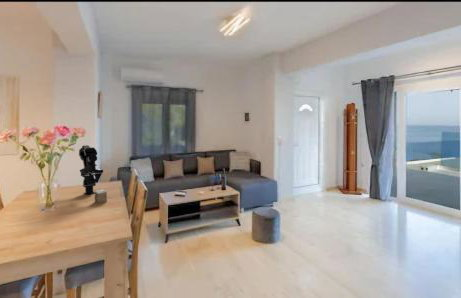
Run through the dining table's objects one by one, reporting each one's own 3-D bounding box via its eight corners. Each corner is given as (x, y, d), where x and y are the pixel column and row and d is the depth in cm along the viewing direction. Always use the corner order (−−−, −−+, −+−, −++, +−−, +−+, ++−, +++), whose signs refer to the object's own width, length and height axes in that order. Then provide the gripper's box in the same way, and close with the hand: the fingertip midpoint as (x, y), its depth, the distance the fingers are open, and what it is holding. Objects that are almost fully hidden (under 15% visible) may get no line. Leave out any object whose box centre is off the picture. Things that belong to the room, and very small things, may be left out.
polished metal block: (94, 201, 192) (94, 191, 191) (103, 200, 197) (102, 189, 196) (98, 203, 188) (98, 192, 187) (107, 201, 193) (106, 191, 192)
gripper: (73, 165, 198) (75, 186, 196) (89, 161, 190) (91, 183, 188) (87, 165, 208) (88, 184, 206) (102, 161, 200) (104, 182, 198)
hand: (92, 183), depth 199 cm, fingers open, 9 cm apart
